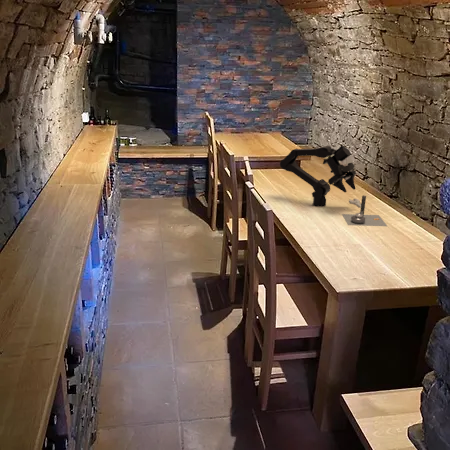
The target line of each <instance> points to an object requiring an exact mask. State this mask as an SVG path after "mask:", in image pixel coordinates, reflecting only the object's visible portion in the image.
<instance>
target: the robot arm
mask: <svg viewBox="0 0 450 450" xmlns="http://www.w3.org/2000/svg"><path fill="white" fill-rule="evenodd" d="M350 156H351V151H350V150H349V148H347V147H346V146H344V145H341V146H339V148H337V149H335V148H332V147H331V146H330V145H325V146H320V147H317V148H294V149H292V150H291V151H290V152H289V153H288V154H287V155H286V156H285V157H284V159H281V160H280V162H279V166H280V169H282V170H284V171H286V172H290V173H293V174H294V175H295V176H297V177H298V178H300V179H301V180H302V181H304V182H305V183H306V184H308V185H309V186H311V187H312V189H313V190H314V191H313V192H312V193H311V195H312V198H313V199H312V203H311V206H312V207H326V205H327V197H326V196H327V195H328V193H330V191H331V185H332V186H333V187H335V188H337V189H339V190H340V191H342V192H344V193H347V192H348V191H347V189H346V187H345V185H344V183H343V179H344V182H345V183H346V184H347V185H348V186H349V187H350V188H351V189H352V190H353V191H355V190H356V185H355V181H354V180H355V177H356V174H357V172H356V171H355V170H354V168H355V164H354V163H353V162H349V163H347V165H344V164H341V162H343V161H345V160H346V159H347V158H349V157H350ZM298 157H317V158H321V159H323V161H322V164H323V165H328V168H330V174H331V173H333V176H331V177H330V178H329V179H328V181H326V180H325V179H324V178H321V179H317V178H316V177H314V176H313V175H312V174H310V173H309V172H308V171H306V170H304V169H303V168H301V167H300V166H299V165H298V164H297V162H296V161H297V158H298Z"/></svg>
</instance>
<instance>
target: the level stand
mask: <svg viewBox="0 0 450 450" xmlns="http://www.w3.org/2000/svg"><path fill="white" fill-rule="evenodd" d="M355 214H356V213H355ZM355 214H354V213H351V214H350V213H341V216H342V217H343V219H344V221H345V223H346V225H347V226H364V227H388V225H387V224H386V222H385V221H384V220H383V218H382V217H381V216H380V214H364V216H363V217H365V223H363V224H356V223H353V222H351V217H352V216H355Z"/></svg>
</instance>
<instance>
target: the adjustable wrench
mask: <svg viewBox="0 0 450 450" xmlns="http://www.w3.org/2000/svg"><path fill="white" fill-rule="evenodd" d="M360 201H361V200H360V199H358V198H353V199H349V200H348V203H349V204H352V205H355V206H356V207H358V208H360V209H361V202H360ZM365 210H367V211H369V209H368V208H367V207H365Z"/></svg>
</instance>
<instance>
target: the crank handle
mask: <svg viewBox="0 0 450 450" xmlns="http://www.w3.org/2000/svg"><path fill="white" fill-rule="evenodd" d="M366 199H367V195H365V194H364V195H362V196H361V202H360V204H361V208H360V211H359V212H356V213H355V216H352V217H351V222H353V223H356V224H363V223H365V217H363V216H364V215H365V210H366Z"/></svg>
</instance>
